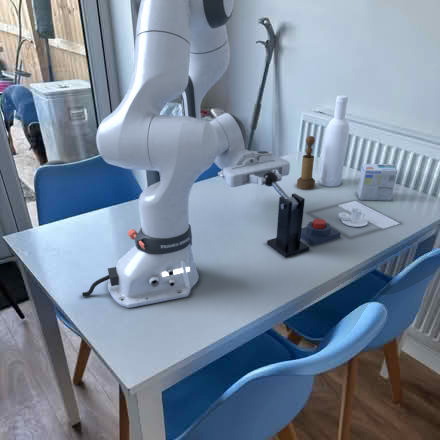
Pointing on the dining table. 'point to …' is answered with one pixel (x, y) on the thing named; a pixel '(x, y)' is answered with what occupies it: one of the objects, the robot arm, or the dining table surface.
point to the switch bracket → (289, 228)
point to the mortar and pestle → (307, 167)
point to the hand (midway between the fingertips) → (271, 180)
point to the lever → (279, 188)
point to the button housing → (318, 234)
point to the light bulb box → (377, 181)
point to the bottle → (335, 145)
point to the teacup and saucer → (354, 216)
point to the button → (319, 223)
